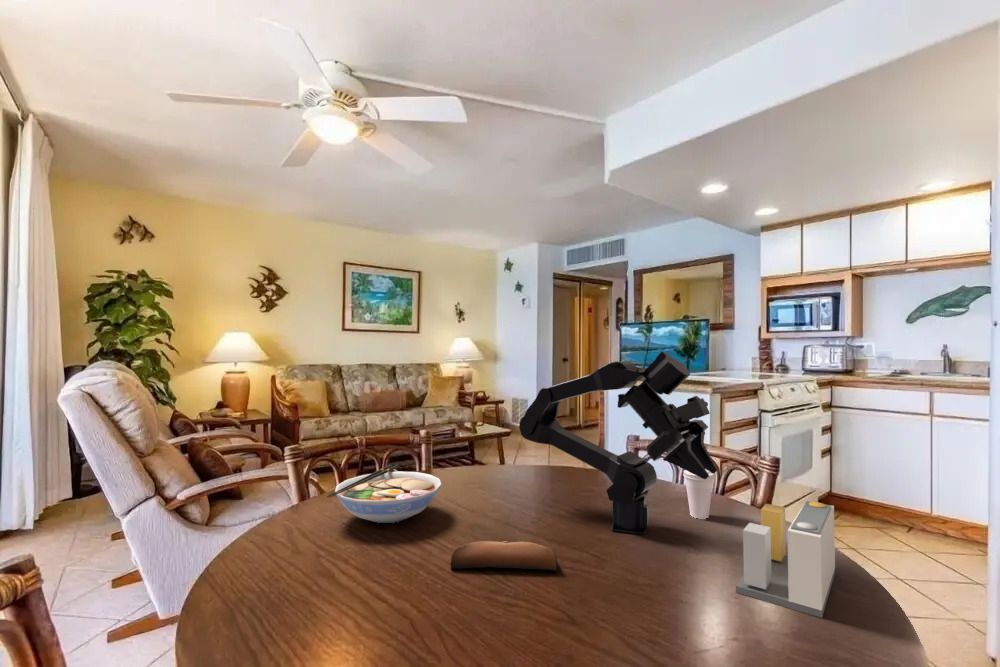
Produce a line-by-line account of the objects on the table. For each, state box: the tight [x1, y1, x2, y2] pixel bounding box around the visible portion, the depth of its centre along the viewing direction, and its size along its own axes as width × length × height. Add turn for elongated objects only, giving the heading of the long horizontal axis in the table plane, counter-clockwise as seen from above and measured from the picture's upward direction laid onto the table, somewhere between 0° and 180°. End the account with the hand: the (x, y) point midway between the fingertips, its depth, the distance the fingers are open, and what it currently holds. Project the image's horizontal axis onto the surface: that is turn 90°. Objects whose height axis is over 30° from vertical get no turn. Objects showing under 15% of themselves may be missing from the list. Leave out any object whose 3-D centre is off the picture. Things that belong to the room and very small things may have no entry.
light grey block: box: [742, 522, 772, 589], centre depth 75 cm, size 3×4×8 cm
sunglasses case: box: [449, 540, 558, 573], centre depth 85 cm, size 18×7×7 cm, turn 86°
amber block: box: [760, 503, 787, 562], centre depth 84 cm, size 3×4×8 cm
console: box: [735, 500, 836, 619], centre depth 78 cm, size 11×17×12 cm, turn 141°
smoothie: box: [682, 469, 715, 520], centre depth 108 cm, size 6×6×14 cm
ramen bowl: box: [326, 464, 443, 524], centre depth 107 cm, size 25×23×8 cm
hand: (711, 474), depth 91 cm, fingers open, 5 cm apart
